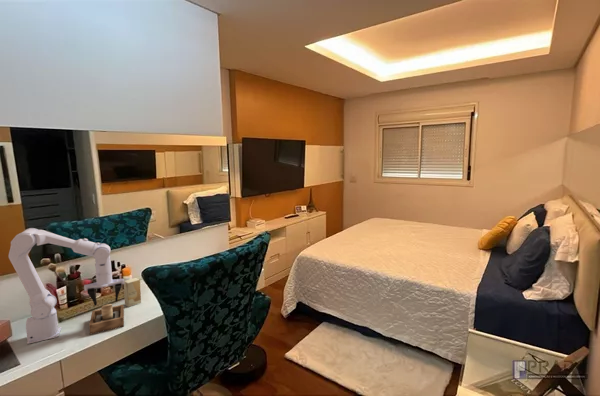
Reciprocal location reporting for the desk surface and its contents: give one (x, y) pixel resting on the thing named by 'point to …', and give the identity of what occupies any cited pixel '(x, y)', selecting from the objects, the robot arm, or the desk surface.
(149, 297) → the desk surface
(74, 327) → the desk surface
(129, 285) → the skincare box
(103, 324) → the socket box
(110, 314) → the maple peg
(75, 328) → the desk surface
